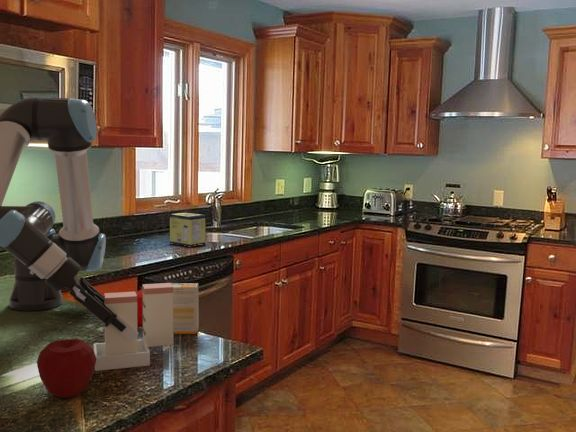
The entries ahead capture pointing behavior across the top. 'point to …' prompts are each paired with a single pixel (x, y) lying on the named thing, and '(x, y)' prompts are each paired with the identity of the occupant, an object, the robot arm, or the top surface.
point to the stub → (127, 310)
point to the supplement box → (185, 308)
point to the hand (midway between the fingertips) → (133, 333)
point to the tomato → (139, 307)
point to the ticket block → (157, 314)
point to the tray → (122, 357)
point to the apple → (66, 367)
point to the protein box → (187, 229)
